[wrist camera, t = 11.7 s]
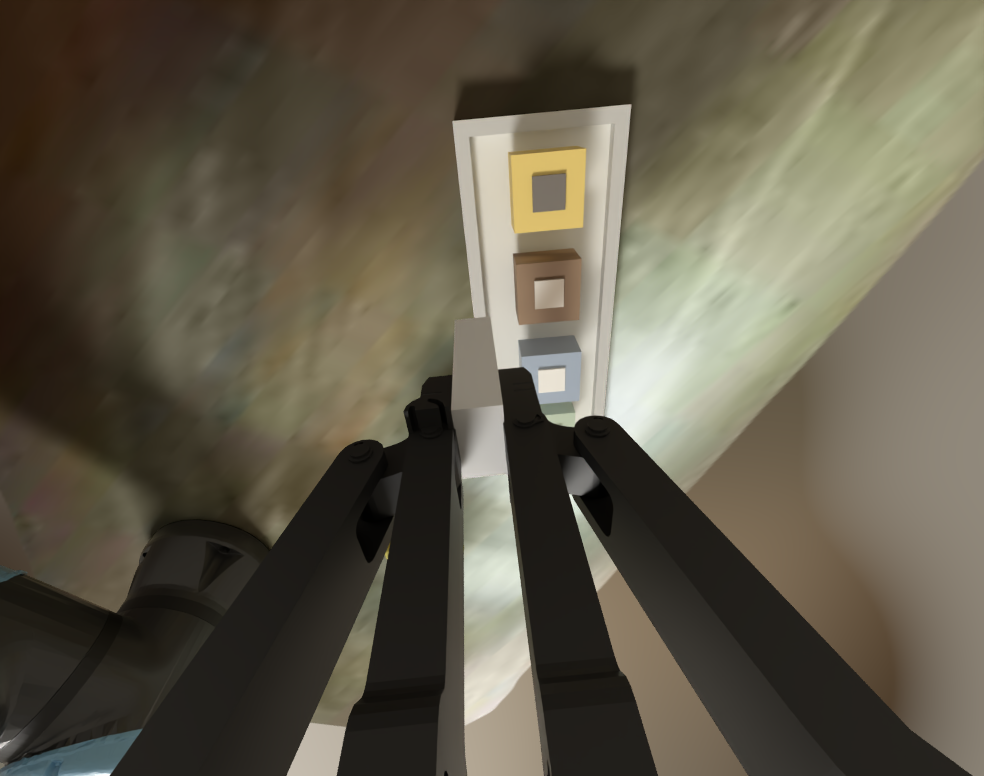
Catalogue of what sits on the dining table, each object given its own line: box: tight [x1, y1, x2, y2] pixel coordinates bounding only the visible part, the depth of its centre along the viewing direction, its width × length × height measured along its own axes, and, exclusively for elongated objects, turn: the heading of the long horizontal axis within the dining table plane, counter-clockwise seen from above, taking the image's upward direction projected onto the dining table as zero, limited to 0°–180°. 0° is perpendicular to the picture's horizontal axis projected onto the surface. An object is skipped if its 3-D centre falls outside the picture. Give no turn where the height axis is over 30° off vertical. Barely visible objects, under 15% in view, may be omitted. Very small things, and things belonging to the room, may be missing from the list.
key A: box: [508, 146, 586, 234], centre depth 29 cm, size 5×5×3 cm
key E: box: [540, 402, 575, 427], centre depth 40 cm, size 5×5×3 cm
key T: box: [513, 248, 582, 325], centre depth 33 cm, size 5×5×3 cm
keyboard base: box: [452, 104, 631, 423], centre depth 37 cm, size 12×30×2 cm, turn 4°
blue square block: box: [518, 335, 582, 404], centre depth 35 cm, size 5×5×3 cm
